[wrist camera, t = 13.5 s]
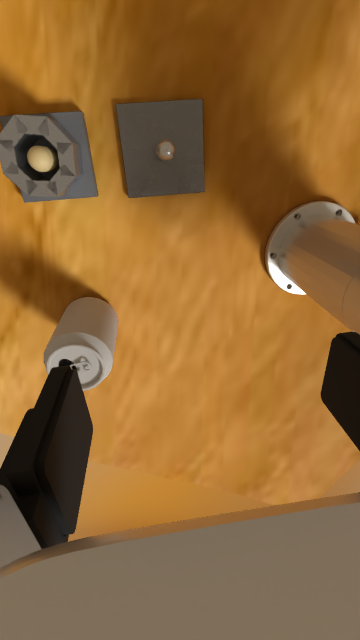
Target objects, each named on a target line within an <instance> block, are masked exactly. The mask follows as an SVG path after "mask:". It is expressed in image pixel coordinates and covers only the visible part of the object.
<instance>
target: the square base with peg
mask: <svg viewBox="0 0 360 640" xmlns="http://www.w3.org/2000/svg"><path fill="white" fill-rule="evenodd" d="M27 115H29V116H46V117H49V118H51V119H53V120H55V121H57V122H59V123H60V124H61V125H62V126H63V127H64V128H65V129H66V130H67V131H68V132H69V133H70V134H71V135H72V137H73V138H74V139H75V140H76V141H77V142H78V143H79V144H80V145H81V153H82V163H83V173H84V174H83V176H82V177H81V178H80V179H79V180H78V181H77V182H76V184H75V185H74V186H73V187H72V188H71V189H70V191H69V192H68V193H66V194H64V195H61V196H59V197H42V196H28V195H27V194H26V193H25V192H24V191H22V190H21V189H20V190H21V193H22V197H23V200H24V203H25V202H37V201H50V200H62V199H74V198H86V197H97V196H98V190H97V184H96V179H95V173H94V168H93V162H92V157H91V151H90V146H89V140H88V135H87V129H86V124H85V118H84V113H83V112H82V111H75V112H59V113H43V114H27ZM12 117H13V115H11V116H0V122H1V125H2V129H4V127H5V126H6V125H7V123H8V122H9V121H10V119H11V118H12ZM27 159H28V162H29V164H30V165H31V167H32V168H33V169H35V170H37V171H38V172H39V173H40V174H41V175H43V176H44V177H45V178H53V176H54V175H55V174H56V173H57V172H58V170H59V169H60V166H59V158H58V151H57V149H56V148H55V147H54V146H53V145H52V144H51V143H50V142H49V141H48V140H47V139H46V138H45V137H39V138H38V139H37V140H36V142H35V143H34V144H33V145H32V147H31V148H30V149H29V151H28V154H27Z"/></svg>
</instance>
